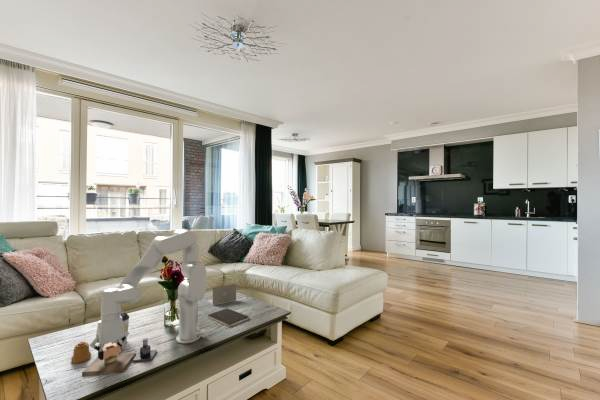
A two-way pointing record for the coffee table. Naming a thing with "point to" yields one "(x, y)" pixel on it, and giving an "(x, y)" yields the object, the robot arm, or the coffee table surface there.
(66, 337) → the coffee table surface
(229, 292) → the laptop
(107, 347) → the square peach frame
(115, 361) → the toggle switch
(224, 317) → the hardcover book
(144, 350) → the stand
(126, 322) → the coffee cup
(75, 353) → the ornamental finial
